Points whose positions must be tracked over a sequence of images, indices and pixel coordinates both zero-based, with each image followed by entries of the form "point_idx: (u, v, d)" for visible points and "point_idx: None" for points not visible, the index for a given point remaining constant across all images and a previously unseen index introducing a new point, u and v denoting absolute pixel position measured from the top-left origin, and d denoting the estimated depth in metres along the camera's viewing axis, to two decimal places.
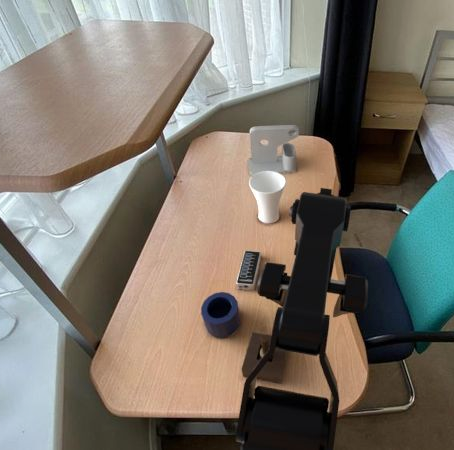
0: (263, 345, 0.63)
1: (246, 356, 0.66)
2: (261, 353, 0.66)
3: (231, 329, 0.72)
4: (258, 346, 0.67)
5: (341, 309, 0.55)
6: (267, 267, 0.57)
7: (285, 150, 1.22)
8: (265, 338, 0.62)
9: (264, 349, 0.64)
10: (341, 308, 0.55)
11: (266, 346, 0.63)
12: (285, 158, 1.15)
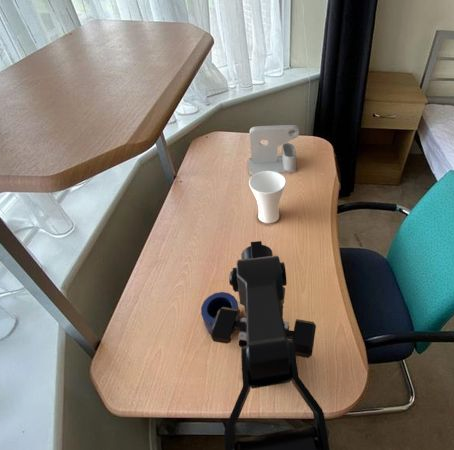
0: None
1: None
2: None
3: None
4: None
5: None
6: (221, 313, 0.60)
7: (285, 150, 1.22)
8: None
9: None
10: None
11: None
12: (285, 158, 1.15)
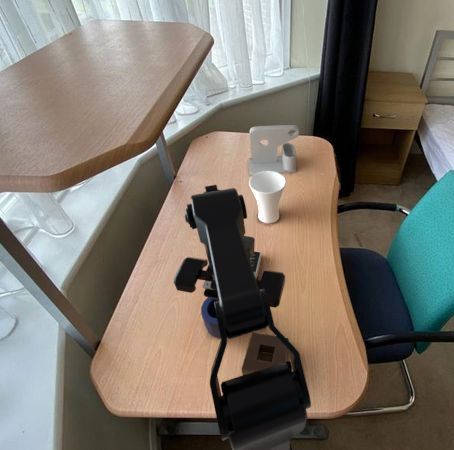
0: None
1: (246, 356, 0.66)
2: None
3: None
4: (258, 346, 0.67)
5: None
6: (186, 262, 0.58)
7: (285, 150, 1.22)
8: None
9: None
10: None
11: None
12: (285, 158, 1.15)
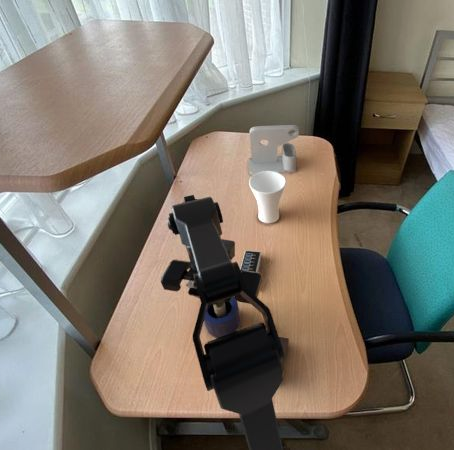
0: None
1: None
2: (214, 305, 0.70)
3: (231, 329, 0.72)
4: None
5: None
6: (172, 264, 0.64)
7: (285, 150, 1.22)
8: None
9: None
10: None
11: None
12: (285, 158, 1.15)
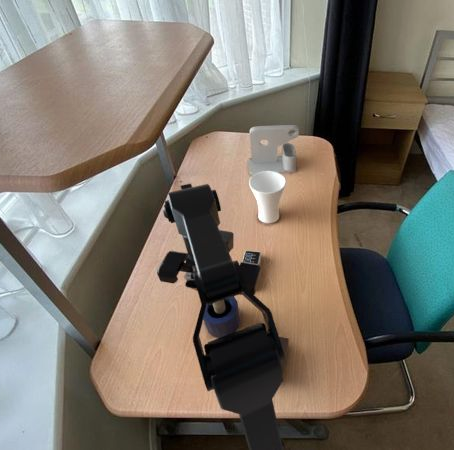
0: None
1: None
2: None
3: (231, 329, 0.72)
4: None
5: None
6: (169, 255, 0.62)
7: (285, 150, 1.22)
8: None
9: None
10: None
11: None
12: (285, 158, 1.15)
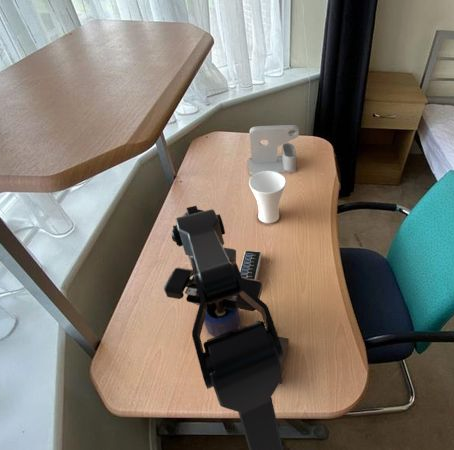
0: (216, 302, 0.68)
1: None
2: (216, 311, 0.71)
3: (231, 329, 0.72)
4: None
5: (223, 306, 0.64)
6: (175, 272, 0.66)
7: (285, 150, 1.22)
8: None
9: (217, 307, 0.69)
10: (223, 305, 0.64)
11: (219, 303, 0.68)
12: (285, 158, 1.15)
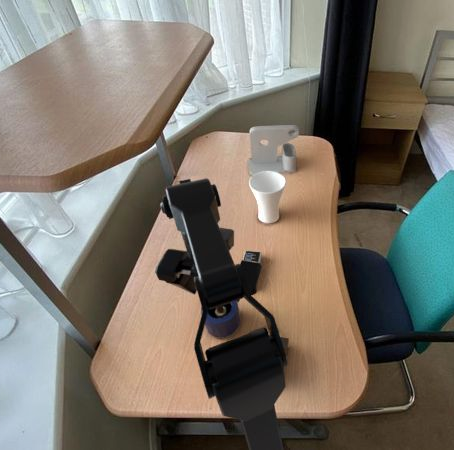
0: None
1: None
2: (216, 311, 0.71)
3: (231, 329, 0.72)
4: None
5: None
6: (167, 253, 0.60)
7: (285, 150, 1.22)
8: None
9: (217, 307, 0.69)
10: None
11: None
12: (285, 158, 1.15)
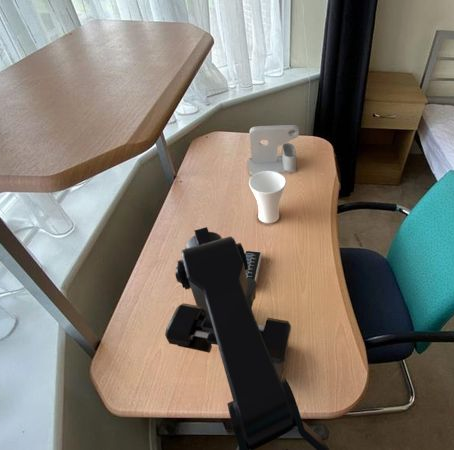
0: None
1: None
2: None
3: None
4: None
5: None
6: (179, 311, 0.51)
7: (285, 150, 1.22)
8: None
9: None
10: None
11: None
12: (285, 158, 1.15)
